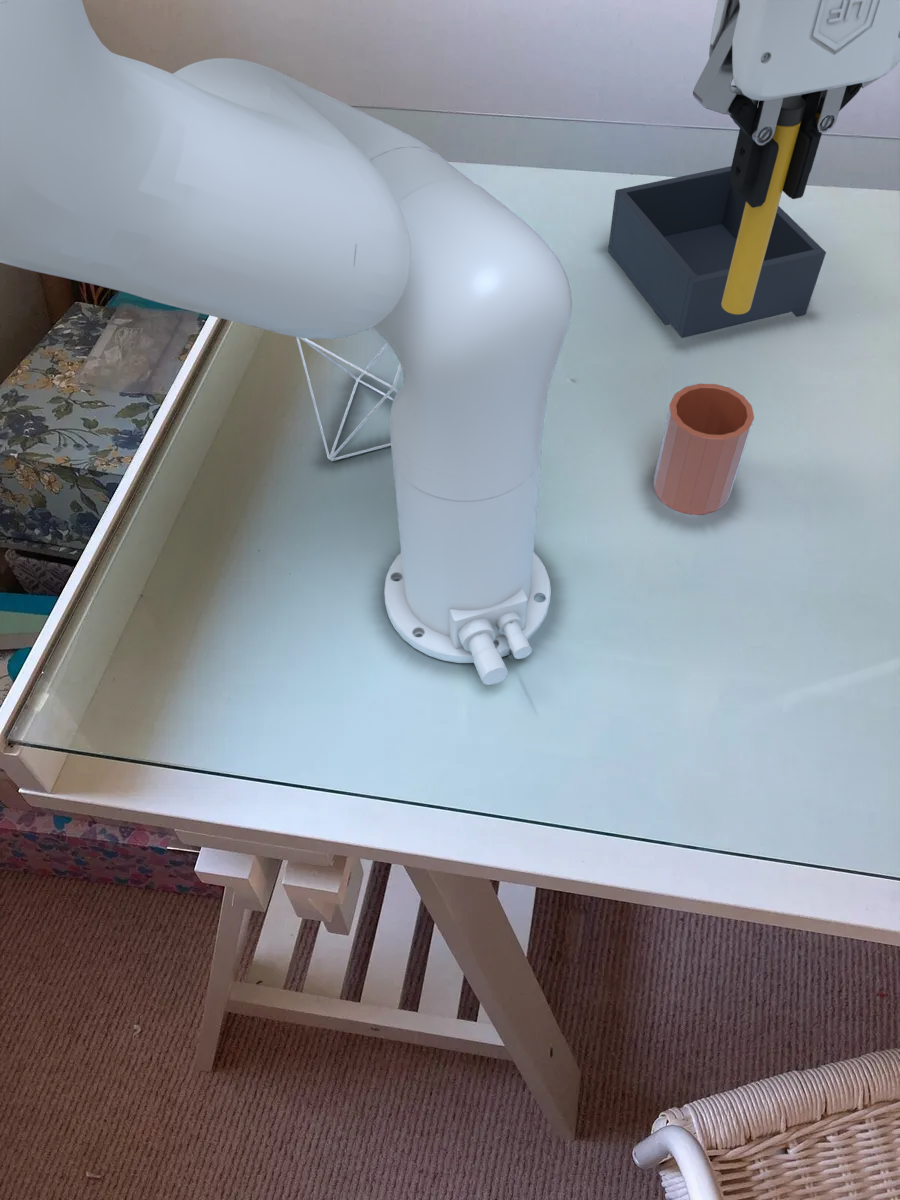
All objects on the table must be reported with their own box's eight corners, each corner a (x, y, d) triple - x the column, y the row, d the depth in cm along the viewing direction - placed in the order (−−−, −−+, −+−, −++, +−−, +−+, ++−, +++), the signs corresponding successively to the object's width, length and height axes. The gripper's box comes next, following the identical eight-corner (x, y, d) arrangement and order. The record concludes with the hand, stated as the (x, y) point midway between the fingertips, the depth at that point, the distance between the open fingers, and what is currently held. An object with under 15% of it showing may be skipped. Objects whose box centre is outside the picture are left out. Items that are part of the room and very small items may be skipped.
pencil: (755, 311, 66) (813, 106, 55) (729, 317, 66) (782, 111, 55) (741, 295, 67) (794, 90, 56) (716, 300, 67) (764, 96, 56)
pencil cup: (741, 509, 78) (769, 427, 71) (673, 529, 77) (694, 447, 70) (705, 459, 82) (728, 376, 75) (639, 477, 81) (656, 394, 74)
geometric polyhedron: (375, 491, 80) (366, 407, 73) (284, 433, 85) (268, 349, 77) (469, 413, 86) (470, 329, 79) (380, 363, 90) (373, 279, 83)
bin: (805, 314, 94) (826, 252, 88) (680, 344, 91) (693, 282, 86) (723, 225, 103) (737, 164, 98) (607, 250, 101) (615, 189, 95)
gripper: (749, -130, 42) (677, 249, 56) (1054, -173, 45) (910, 198, 59) (671, -178, 46) (623, 185, 61) (954, -215, 49) (843, 141, 64)
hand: (765, 189), depth 60 cm, fingers closed on pencil, 2 cm apart
